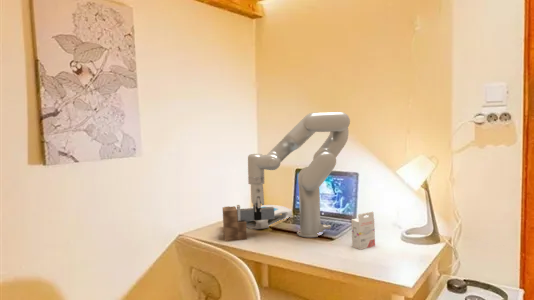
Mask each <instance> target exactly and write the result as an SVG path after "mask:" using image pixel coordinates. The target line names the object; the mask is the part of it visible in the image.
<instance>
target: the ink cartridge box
mask: <svg viewBox="0 0 534 300" xmlns="http://www.w3.org/2000/svg"><path fill="white" fill-rule="evenodd" d="M357 216H358V218H352V219H351V220H350V221H351V245H352V246H351V247H353V248H354V249H357V250H364V249H368V248H371V247H375V246H376V238H375V237H376V235H375V232H376V231H375V228H376V227H375V217H374V212H373V211H370V212H369V211H368V212H364V213H360V214H358V215H357Z"/></svg>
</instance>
